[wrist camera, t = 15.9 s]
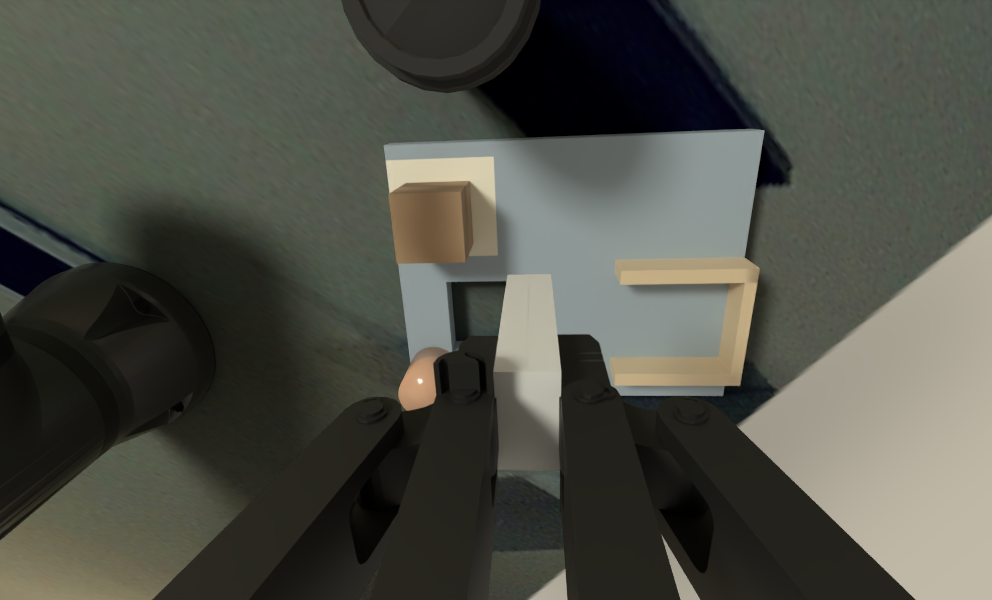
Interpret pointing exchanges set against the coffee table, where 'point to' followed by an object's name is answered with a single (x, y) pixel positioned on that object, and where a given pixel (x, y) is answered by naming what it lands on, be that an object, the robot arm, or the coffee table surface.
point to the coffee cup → (443, 38)
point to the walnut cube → (432, 222)
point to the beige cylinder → (420, 379)
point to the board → (605, 245)
